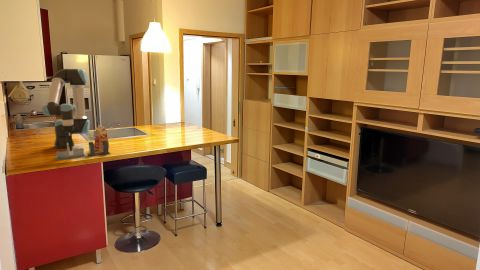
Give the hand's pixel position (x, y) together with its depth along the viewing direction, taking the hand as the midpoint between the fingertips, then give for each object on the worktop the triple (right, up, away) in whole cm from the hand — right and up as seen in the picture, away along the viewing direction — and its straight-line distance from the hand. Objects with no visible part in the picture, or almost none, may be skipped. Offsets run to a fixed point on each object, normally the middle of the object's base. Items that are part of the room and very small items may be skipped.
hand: (70, 152), depth 250 cm
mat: (0, -3, +1) cm, 3 cm away
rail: (0, -3, +1) cm, 3 cm away
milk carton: (+13, +2, +27) cm, 30 cm away
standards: (+17, -1, +11) cm, 20 cm away
